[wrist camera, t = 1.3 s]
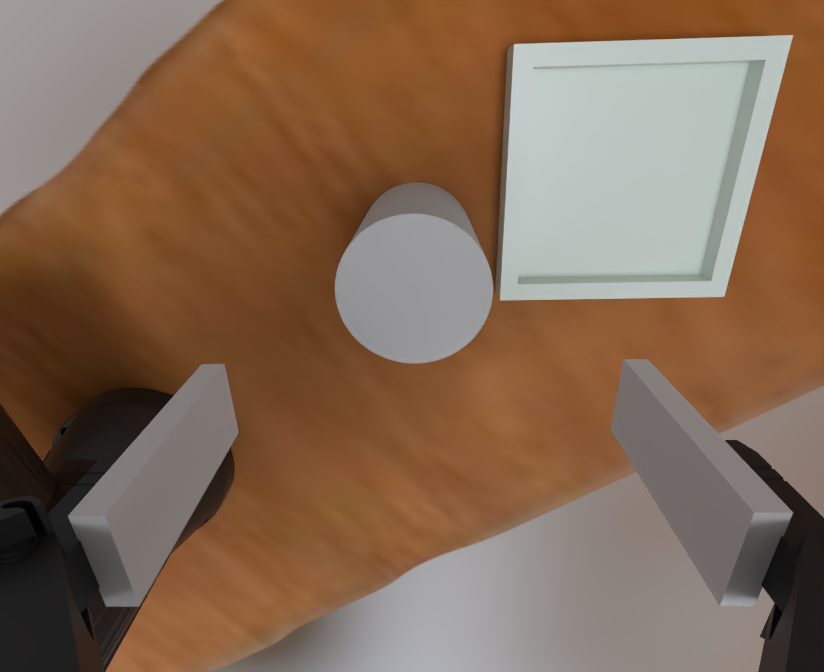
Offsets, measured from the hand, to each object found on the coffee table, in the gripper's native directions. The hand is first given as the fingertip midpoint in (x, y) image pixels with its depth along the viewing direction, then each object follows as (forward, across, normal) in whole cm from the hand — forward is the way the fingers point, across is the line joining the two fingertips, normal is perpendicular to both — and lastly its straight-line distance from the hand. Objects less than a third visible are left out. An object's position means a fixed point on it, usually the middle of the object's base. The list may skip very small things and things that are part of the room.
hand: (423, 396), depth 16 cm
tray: (+21, +14, +4) cm, 26 cm away
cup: (+22, 0, 0) cm, 22 cm away
